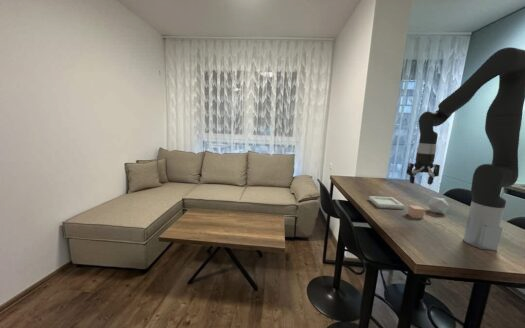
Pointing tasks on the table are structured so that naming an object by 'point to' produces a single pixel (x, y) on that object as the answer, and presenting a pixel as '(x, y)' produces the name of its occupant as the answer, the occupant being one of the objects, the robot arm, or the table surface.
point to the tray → (386, 202)
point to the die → (438, 205)
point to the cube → (415, 211)
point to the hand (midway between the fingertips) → (420, 183)
